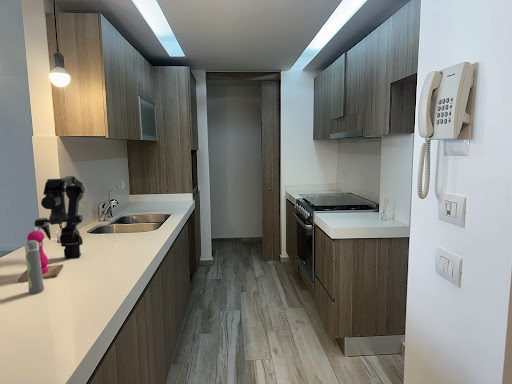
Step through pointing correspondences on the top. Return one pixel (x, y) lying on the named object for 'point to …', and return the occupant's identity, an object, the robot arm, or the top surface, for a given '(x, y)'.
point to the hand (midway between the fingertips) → (61, 238)
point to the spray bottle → (34, 267)
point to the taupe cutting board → (51, 273)
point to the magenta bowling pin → (43, 258)
